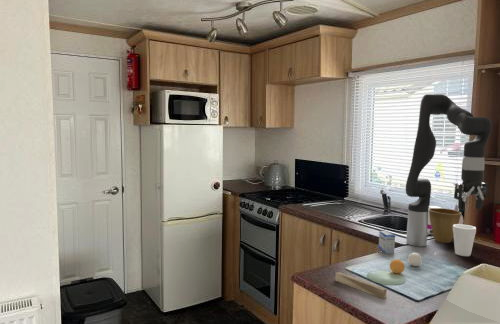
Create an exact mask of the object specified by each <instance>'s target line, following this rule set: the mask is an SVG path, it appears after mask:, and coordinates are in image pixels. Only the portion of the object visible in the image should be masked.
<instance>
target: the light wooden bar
mask: <svg viewBox="0 0 500 324" xmlns="http://www.w3.org/2000/svg"><path fill="white" fill-rule="evenodd" d="M335 282H338V283H341V284H343V285H346V286H349V287H351V288H354V289H357V290H358V291H360V292H361V291H362V292H364V293H366V294H369V295H372V296H373V297H377V298H380V299H382V300H384V299H386V298H387V291H388V290H387V288H385V287H382V286H380V285H377V284H375V283H371V282H368V281H366V280H363V279H361V278H357V277H354V276H352V275H349V274H346V273H344V272H341V271H338V272H335Z"/></svg>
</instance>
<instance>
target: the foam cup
mask: <svg viewBox="0 0 500 324" xmlns="http://www.w3.org/2000/svg"><path fill="white" fill-rule="evenodd" d="M476 233H477V227H476V226H473V225H469V224H461V223H459V224H454V225H453V235H454V237H453V244H454V245H453V246H454V254H455V255H458V256H461V257H471V254H472V250H473V246H474V241H475V235H476Z"/></svg>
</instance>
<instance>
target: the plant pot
mask: <svg viewBox="0 0 500 324" xmlns="http://www.w3.org/2000/svg"><path fill="white" fill-rule="evenodd" d="M429 215H430V223H431V228H432V232H433V235H432V236H433V238H434V241H435V242H437V243H442V244H450V243H452V240H454V235H453V225H454V224H460V220H461V217H462V212H461V211H460V210H459V211H458V210H455V209H450V208H442V207H441V208H431V209H429Z"/></svg>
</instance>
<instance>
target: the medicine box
mask: <svg viewBox="0 0 500 324" xmlns="http://www.w3.org/2000/svg"><path fill="white" fill-rule="evenodd" d="M395 244H396V235H395V234H393V233H392V232H390V231H387V230H379V235H378V250H380V251H382V252H383V253H384V254H395V249H396V247H395V246H396V245H395Z"/></svg>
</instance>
